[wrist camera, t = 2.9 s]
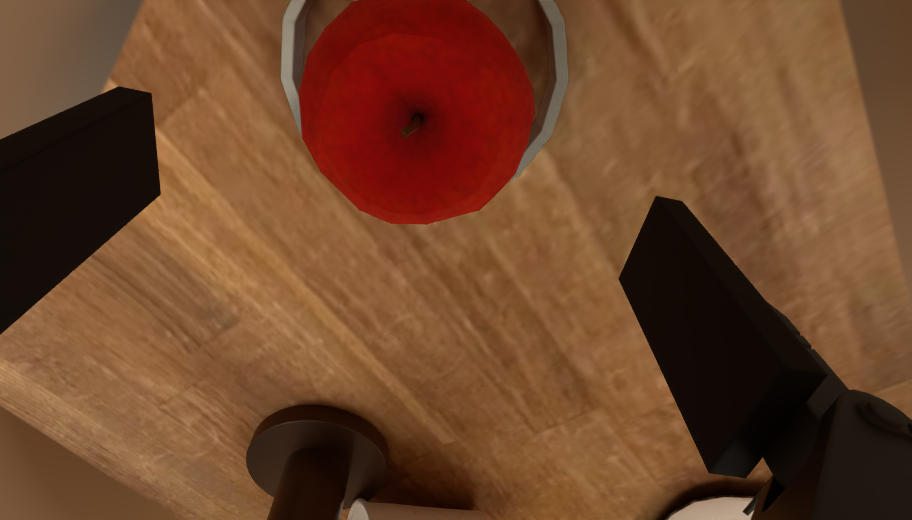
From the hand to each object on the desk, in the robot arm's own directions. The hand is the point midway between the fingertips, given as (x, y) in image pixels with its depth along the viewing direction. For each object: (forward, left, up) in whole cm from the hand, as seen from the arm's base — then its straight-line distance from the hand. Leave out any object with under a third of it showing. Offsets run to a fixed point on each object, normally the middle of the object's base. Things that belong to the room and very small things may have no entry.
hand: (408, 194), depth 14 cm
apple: (0, 0, -15) cm, 15 cm away
